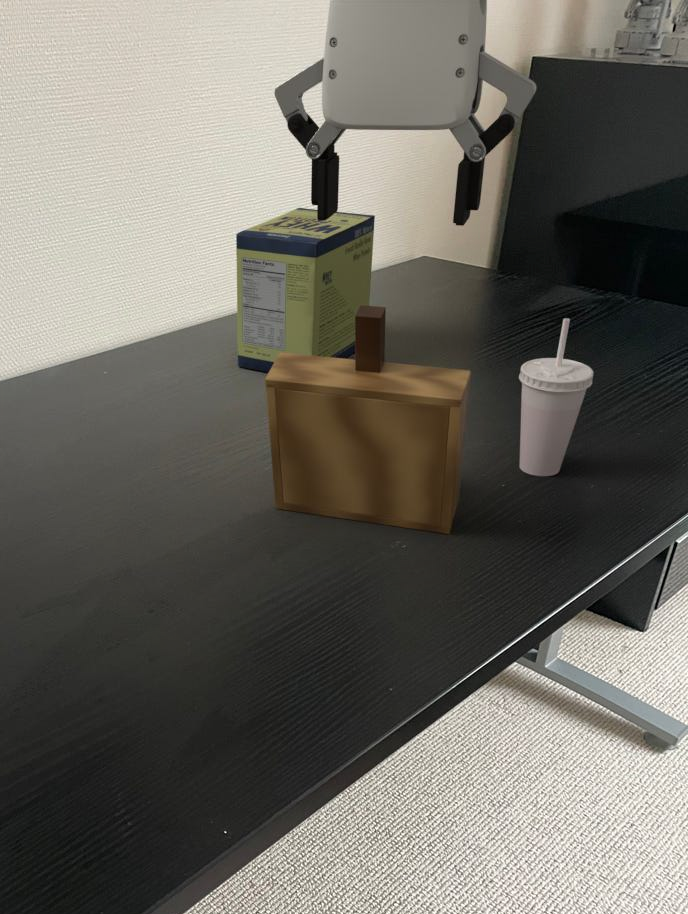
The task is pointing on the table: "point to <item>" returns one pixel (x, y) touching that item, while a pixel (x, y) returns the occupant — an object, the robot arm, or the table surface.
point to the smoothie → (550, 408)
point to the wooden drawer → (367, 434)
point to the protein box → (301, 285)
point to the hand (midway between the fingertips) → (393, 218)
